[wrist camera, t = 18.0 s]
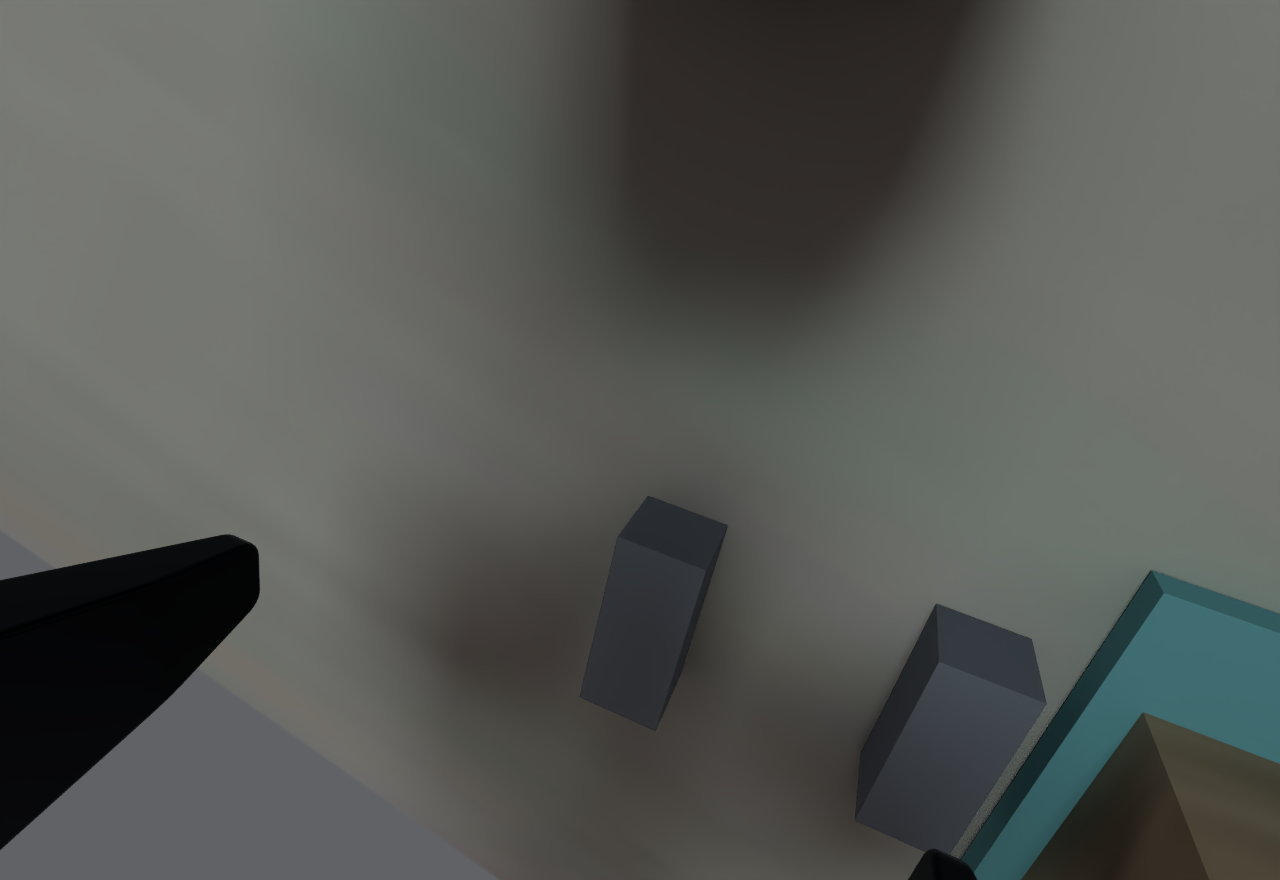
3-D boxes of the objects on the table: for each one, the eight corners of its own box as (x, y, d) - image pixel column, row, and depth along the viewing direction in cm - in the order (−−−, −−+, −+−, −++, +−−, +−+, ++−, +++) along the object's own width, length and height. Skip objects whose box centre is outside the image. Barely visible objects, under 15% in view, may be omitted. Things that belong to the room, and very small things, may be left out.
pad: (1151, 570, 17) (1163, 592, 17) (1491, 686, 16) (1524, 718, 15) (953, 871, 23) (954, 900, 22) (1193, 980, 21) (1205, 1016, 20)
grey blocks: (648, 495, 21) (617, 536, 19) (1031, 639, 19) (1046, 703, 17) (609, 646, 24) (579, 697, 22) (942, 788, 22) (945, 860, 20)
